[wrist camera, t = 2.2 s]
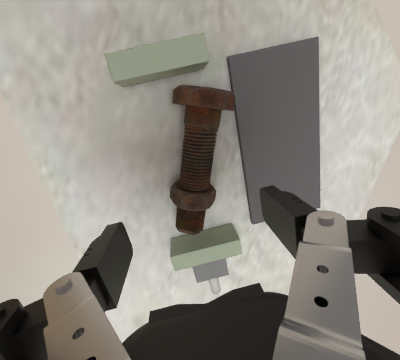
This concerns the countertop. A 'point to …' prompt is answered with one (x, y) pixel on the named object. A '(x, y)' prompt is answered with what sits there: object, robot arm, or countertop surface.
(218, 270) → the rails
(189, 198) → the bolt
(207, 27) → the countertop surface
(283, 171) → the mat
